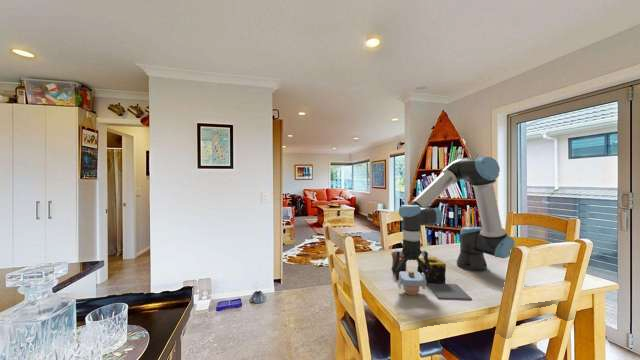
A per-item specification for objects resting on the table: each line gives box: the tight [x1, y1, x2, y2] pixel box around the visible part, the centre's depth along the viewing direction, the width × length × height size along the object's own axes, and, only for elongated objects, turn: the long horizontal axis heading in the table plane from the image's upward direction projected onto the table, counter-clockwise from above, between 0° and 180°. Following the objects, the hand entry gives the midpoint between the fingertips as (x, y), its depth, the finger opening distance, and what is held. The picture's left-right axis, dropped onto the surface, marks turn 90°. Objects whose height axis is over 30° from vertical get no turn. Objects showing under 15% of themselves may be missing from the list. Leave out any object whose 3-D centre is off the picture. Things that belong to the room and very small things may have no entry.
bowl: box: [402, 285, 421, 296], centre depth 114 cm, size 7×7×5 cm
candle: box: [416, 257, 447, 285], centre depth 128 cm, size 10×10×10 cm
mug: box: [390, 251, 407, 272], centre depth 136 cm, size 12×9×10 cm
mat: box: [426, 283, 473, 301], centre depth 115 cm, size 14×14×1 cm
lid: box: [400, 270, 427, 287], centre depth 114 cm, size 10×10×4 cm
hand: (411, 287), depth 114 cm, fingers closed on lid, 10 cm apart
